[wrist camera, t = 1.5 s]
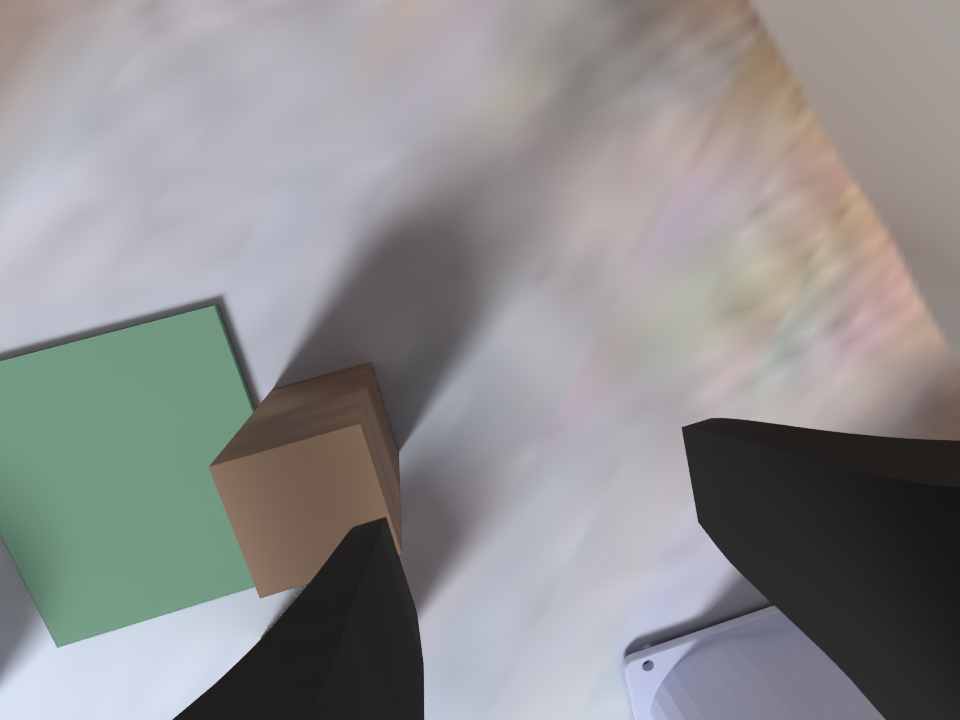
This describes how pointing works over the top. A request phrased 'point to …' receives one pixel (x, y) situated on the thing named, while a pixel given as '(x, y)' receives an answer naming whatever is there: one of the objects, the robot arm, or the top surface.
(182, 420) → the mat
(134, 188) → the top surface
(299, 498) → the walnut block
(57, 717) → the top surface
